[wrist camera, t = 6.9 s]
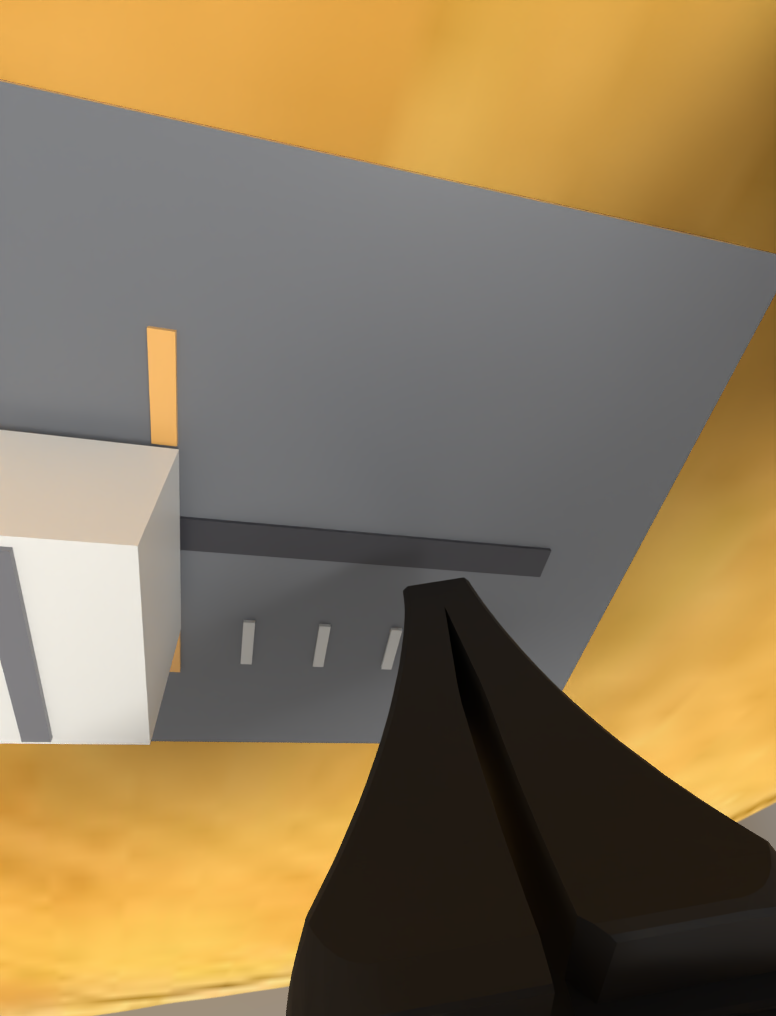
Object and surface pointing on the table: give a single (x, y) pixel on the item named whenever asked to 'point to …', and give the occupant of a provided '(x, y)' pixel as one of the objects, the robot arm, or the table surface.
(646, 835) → the robot arm
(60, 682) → the fader knob
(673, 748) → the table surface
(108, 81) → the table surface
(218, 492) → the slide fader panel
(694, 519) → the table surface
